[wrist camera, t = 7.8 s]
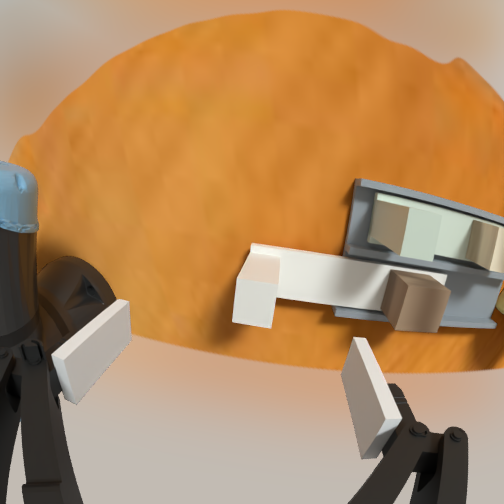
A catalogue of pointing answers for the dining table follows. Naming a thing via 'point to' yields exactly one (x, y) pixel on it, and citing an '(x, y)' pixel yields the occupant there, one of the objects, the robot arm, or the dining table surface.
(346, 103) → the dining table surface
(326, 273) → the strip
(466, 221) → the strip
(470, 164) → the dining table surface
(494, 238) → the maple block
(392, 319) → the walnut block
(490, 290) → the lane board
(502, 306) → the cheese
